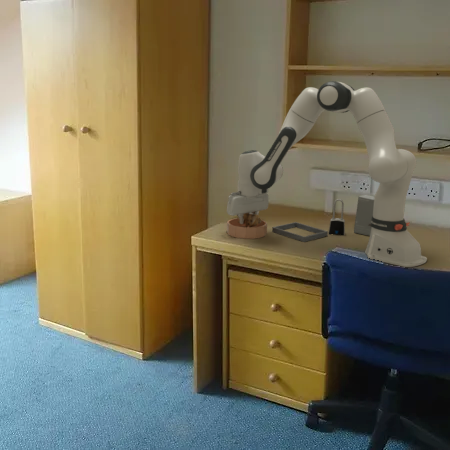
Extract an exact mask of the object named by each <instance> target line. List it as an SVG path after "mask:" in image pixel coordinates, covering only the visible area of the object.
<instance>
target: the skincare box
mask: <svg viewBox="0 0 450 450" xmlns="http://www.w3.org/2000/svg"><path fill="white" fill-rule="evenodd" d="M374 197H375V195H370V194H363V195H359V196H358V199H357V204H356V212H355V220H354V227H353V232H354V234H359V235H364V236H369V237H370V233H371V218H372V216H373V208H374Z"/></svg>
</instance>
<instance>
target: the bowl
mask: <svg viewBox="0 0 450 450" xmlns="http://www.w3.org/2000/svg"><path fill="white" fill-rule="evenodd" d="M238 220H239V217H236V218H235V217H234V218H231V219H229V220H227V222H226V233H227V235H228V236H230V237H234V238H236V239H237V238H238V239H247V240H249V239H250V240H251V239H260V238H264V237H266V235H268V222H267V221H266V220H263V219H261V220H262V221H261V223H260V224H258V225H257V226H253V227H249V226H248V227H247V228H245V224H240V223H238ZM245 223H246V222H245Z"/></svg>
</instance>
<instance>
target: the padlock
mask: <svg viewBox="0 0 450 450" xmlns="http://www.w3.org/2000/svg"><path fill="white" fill-rule="evenodd" d="M339 201H340V202H341V215H340V218H339V217H338V218H337V217H336V216H335V213H336V212H335V211H336V204H337V202H339ZM344 205H345V204H344V201H343V200H342V199H341V198H337V199H335V200H334V202H333V207H332V208H333V210H332V218H330V220H329V227H328V235H331V234H333V235H332V236H346V233H345V232H346V231H345V230H346V228H345V227H346V225H345V224H346V221H345V219H344V207H345V206H344ZM335 217H336V218H335Z"/></svg>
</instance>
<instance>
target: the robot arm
mask: <svg viewBox="0 0 450 450" xmlns="http://www.w3.org/2000/svg"><path fill="white" fill-rule="evenodd" d="M325 111H329V112H332V113H338V114H339V113H341V114H344V113H347V112H350V114H352V117H353V119H354V120H355V123H356V125H357V127H358V129H359V131H360V134H361V137H362V139H363V141H364V144H365V147H366V153H367V156H368V163H369V164H368V166H367V167H368V170H367V171H368V174H369V177H370V178H371V179H372V180H373V181H374V182H376V183H379V184H378V188H377V190H376V192H375V194H374V196H375V197H374V208H373V216H372V218H371V233H370V236H369V238H368V243H367V245H366V249H365V251H364V253H365V255H366V257H368V258H367V259H369V258H370V259H369V260H373V259H375V260H374V261H377V260H379V261H378V262H381V261H382V262H383V263H386V264H391V265H395V266H399V267H404V268H412V267H417V266H421V265H424V264H425V263H427V261H428V258H427V256H424V255H422V249H421V244H420V242H419V241H418V240H417V239H416V238H415V237H414V236H413V235H412V234H411V232H409V230H408V226H410V222H409V221H408V222H406V220H405V218H404V216H405V208H406V202H407V201H406V200H407V196H408V195H407V194H408V191H409V187H410V185H411V181H412V177H413V174H414V171H415V169H416V166H417V158H416V156H415V154H414V153H413V152H411V151H410V150H407V149H403V148H397V145H396V144H397V143H396V140H395V127H394V126H393V124H392V122H391V119H390V117H389V115H388V113H387V111H386V109H385V106H384V104H383V102H382V101H381V98H380V97H379V96H378V94H377V92H376V91H375V90H374V89H373V88H371V87H367V86H366V87H361V88H358V89H356V90H355V88H353V87H352V86H351V85H349V84H346V83H344V82H341V81H336V80H335V81H334V80H330V81H327V82H325V83H323V84H322V85H321V86H320V87H319V88H316V87H314V86H313V87H312V86H310V87H306V88H304V89H303V90H302V91H301V92H300V94H299V95H298V96H297V97H296V98H295V100H294V102H293V103H292V104H291V107H290V109H289V110H288V112H287V113H286V116H285V118H284V121H283V122H282V123H283V124H282V125H281V127H280V130H279V133H278V134H277V137H276V139H275V140H274V142H273V144H272V145H271V147H269V150H268V152H267V153H266V155H264V154H262V153H260V151H259V150H255V149H254V150H253V149H251V150H247V151H243V152H241V154H240V155H239V156H238V162H237V174H238V180H237V191H235V192H234V191H233V192H231V193H230V194H229V195H228V199H227V205H226V206H227V207H226V213H227V215H230V216H233V217H234V216H237V215H238V216H237V218H239V219H240V224H245V220H244V219H243V217H242V216H243V214H245V213H250V212H252V213H253V214H256V215H257V214H258V211H259V212H260V211H265V210H267V209H268V208H269V194H268V193H269V189H270V188H271V187H272V186H274V185H275V183H277V182H278V181H279V180H280V179H281V178H282V177H283V176H284V175H283V174H284V169H283V165H282V164H281V163H282V161H283V160H284V158H285V157H286V155H287V153H288V152H289V150H291V148H292V147H293V146H294V145H295V144H297V143H298V142H299V141H301V140H302V139H303V138H305V137H306V136H307V135H308V133H309V132H310V131H311V130H312V128H313V127H314V125H315V124H316V122H317V120H318V118H319V117H320V115H321V114H322V113H323V112H325ZM258 215H259V214H258Z"/></svg>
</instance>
